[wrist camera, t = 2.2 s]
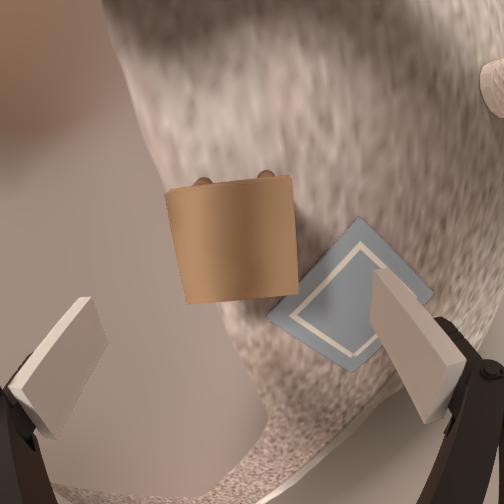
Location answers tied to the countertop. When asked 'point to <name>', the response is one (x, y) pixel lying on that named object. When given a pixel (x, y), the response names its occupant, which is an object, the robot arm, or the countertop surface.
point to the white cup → (493, 86)
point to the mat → (344, 297)
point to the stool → (235, 238)
